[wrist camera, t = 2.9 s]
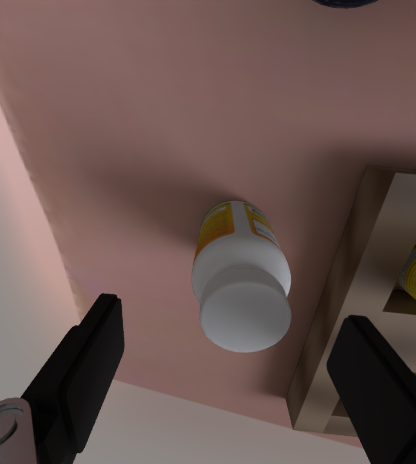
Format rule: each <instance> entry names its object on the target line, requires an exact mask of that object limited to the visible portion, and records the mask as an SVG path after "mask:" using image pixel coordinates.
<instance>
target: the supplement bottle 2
mask: <svg viewBox="0 0 416 464" xmlns="http://www.w3.org/2000/svg"><path fill="white" fill-rule="evenodd" d="M397 283H398V284H399V285H400V286H401V287H402V288H403V289H404V290H405V291H406V292H407V293H409V294H410V295H411V296H412V297H413V298H414V299H415V300H416V243H415V246H414V248H413V250H412V252H411V254H410V256H409V258H408V260H407V262H406V264H405V266H404V268H403V270H402V272H401V274H400V276H399V278H398V280H397Z"/></svg>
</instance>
